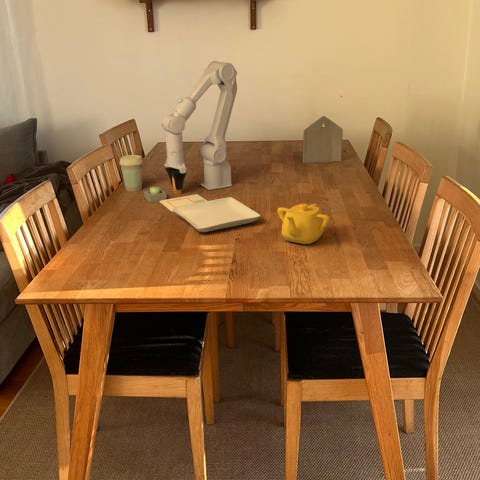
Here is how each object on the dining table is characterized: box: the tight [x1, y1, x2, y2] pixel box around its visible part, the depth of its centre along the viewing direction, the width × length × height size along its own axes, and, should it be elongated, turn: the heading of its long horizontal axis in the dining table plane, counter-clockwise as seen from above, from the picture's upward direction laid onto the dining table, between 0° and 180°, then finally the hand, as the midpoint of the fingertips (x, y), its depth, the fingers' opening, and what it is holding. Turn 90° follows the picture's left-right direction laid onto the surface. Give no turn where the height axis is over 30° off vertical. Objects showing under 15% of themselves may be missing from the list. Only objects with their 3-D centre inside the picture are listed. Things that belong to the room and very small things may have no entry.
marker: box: [172, 176, 183, 196], centre depth 204 cm, size 3×3×7 cm
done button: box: [149, 186, 161, 195], centre depth 199 cm, size 3×3×3 cm
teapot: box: [277, 203, 331, 245], centre depth 161 cm, size 14×13×10 cm
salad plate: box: [173, 196, 261, 233], centre depth 178 cm, size 21×21×3 cm
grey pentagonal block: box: [302, 115, 344, 164], centre depth 241 cm, size 16×8×19 cm, turn 94°
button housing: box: [143, 188, 168, 203], centre depth 199 cm, size 6×6×2 cm
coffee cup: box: [119, 154, 144, 193], centre depth 209 cm, size 8×8×12 cm
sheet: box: [159, 193, 208, 213], centre depth 194 cm, size 14×12×1 cm
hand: (177, 188), depth 205 cm, fingers open, 3 cm apart
